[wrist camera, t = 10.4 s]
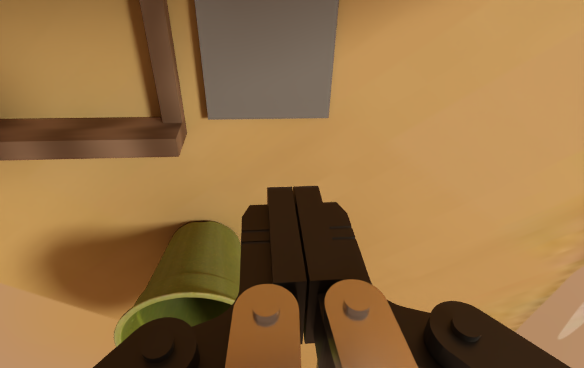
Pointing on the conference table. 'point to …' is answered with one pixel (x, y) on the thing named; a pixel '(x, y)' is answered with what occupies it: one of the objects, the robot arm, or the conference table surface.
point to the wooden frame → (111, 131)
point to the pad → (267, 57)
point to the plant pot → (189, 279)
